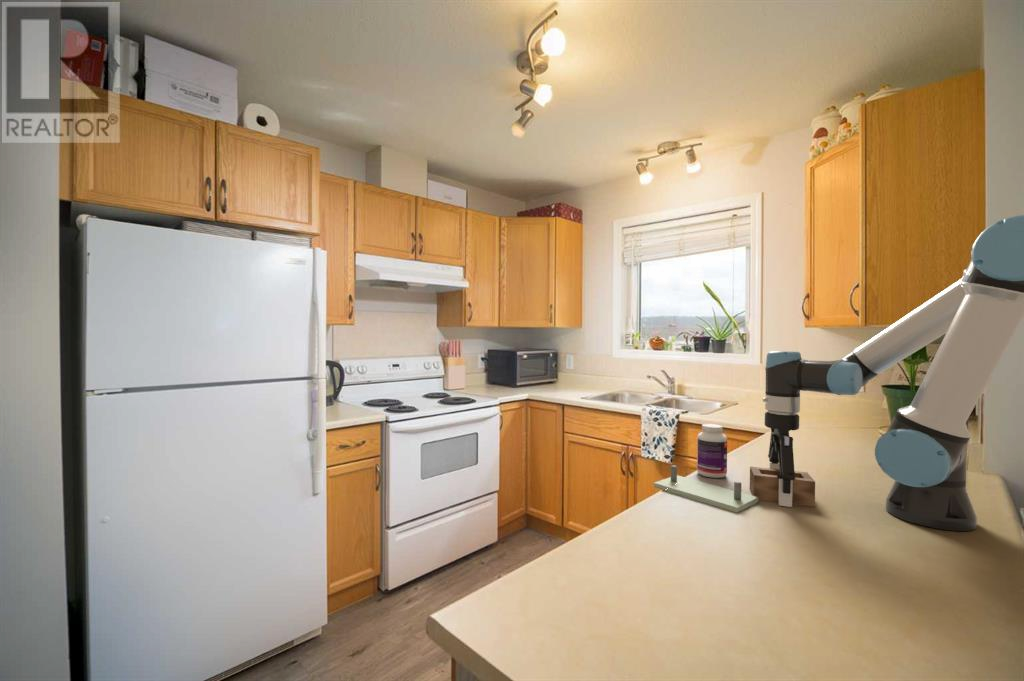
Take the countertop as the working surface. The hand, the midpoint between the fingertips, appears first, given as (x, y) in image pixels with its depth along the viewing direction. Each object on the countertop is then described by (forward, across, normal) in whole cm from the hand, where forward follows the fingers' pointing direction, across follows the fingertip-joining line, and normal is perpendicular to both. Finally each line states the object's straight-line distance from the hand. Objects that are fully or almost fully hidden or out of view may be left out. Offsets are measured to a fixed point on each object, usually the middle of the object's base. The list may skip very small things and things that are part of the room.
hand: (779, 496), depth 116 cm
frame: (0, 0, 0) cm, 0 cm away
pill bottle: (0, -13, -15) cm, 20 cm away
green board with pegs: (0, +5, -18) cm, 19 cm away
